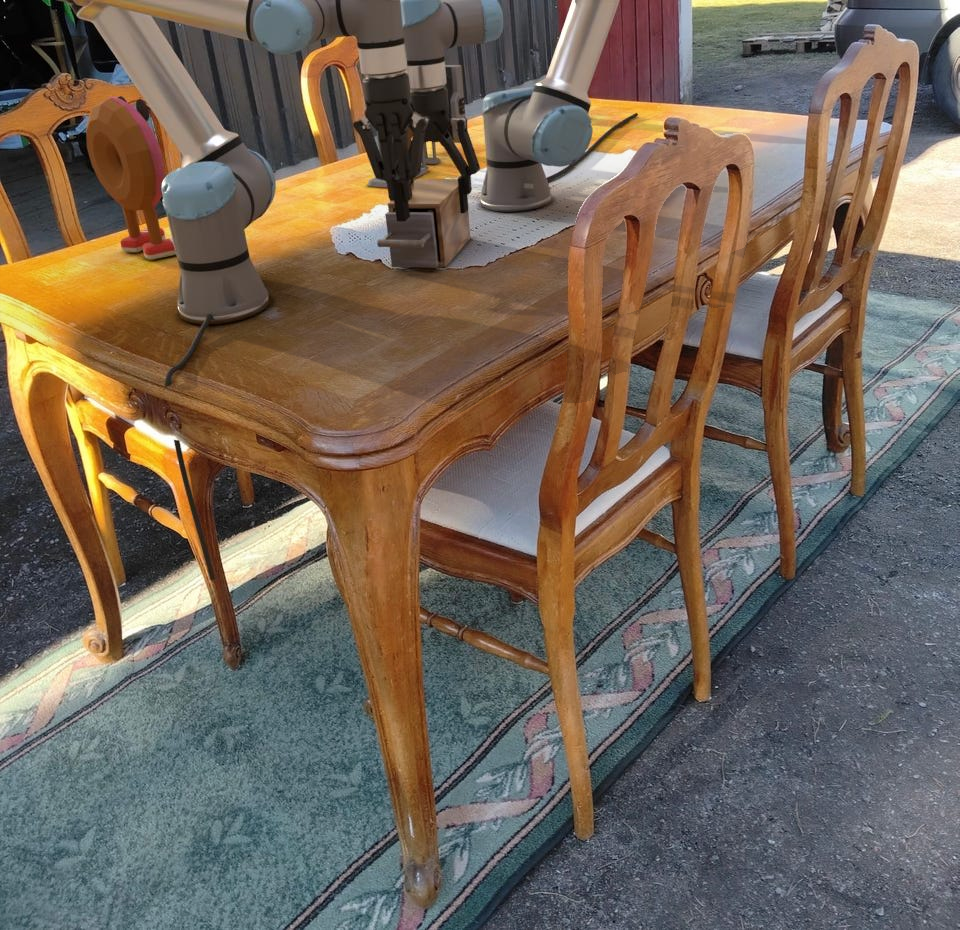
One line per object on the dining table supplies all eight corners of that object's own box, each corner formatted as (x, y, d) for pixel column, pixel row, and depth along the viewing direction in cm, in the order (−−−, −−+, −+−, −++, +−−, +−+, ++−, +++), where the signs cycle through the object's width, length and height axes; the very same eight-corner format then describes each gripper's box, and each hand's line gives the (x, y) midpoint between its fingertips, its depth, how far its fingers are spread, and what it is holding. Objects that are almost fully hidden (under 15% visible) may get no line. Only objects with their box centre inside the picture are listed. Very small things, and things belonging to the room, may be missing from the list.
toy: (206, 251, 195) (170, 95, 179) (161, 266, 188) (121, 105, 173) (151, 235, 208) (114, 87, 192) (108, 248, 202) (66, 97, 186)
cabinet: (445, 266, 176) (439, 203, 170) (395, 265, 179) (387, 203, 173) (470, 238, 190) (465, 178, 184) (423, 237, 192) (417, 179, 187)
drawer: (426, 279, 169) (420, 224, 164) (380, 278, 171) (373, 223, 166) (460, 240, 186) (456, 190, 181) (418, 240, 188) (413, 190, 183)
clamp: (395, 188, 226) (384, 92, 216) (364, 185, 230) (352, 91, 219) (468, 152, 252) (461, 65, 241) (439, 150, 256) (431, 64, 245)
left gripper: (430, 68, 156) (445, 212, 168) (356, 71, 160) (376, 212, 172) (415, 76, 150) (432, 225, 162) (338, 80, 154) (360, 225, 166)
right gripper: (491, 82, 174) (499, 205, 185) (375, 85, 180) (390, 205, 191) (480, 90, 168) (489, 217, 179) (360, 93, 174) (376, 216, 185)
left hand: (403, 218), depth 167 cm, fingers closed
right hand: (438, 210), depth 185 cm, fingers closed on cabinet, 10 cm apart
